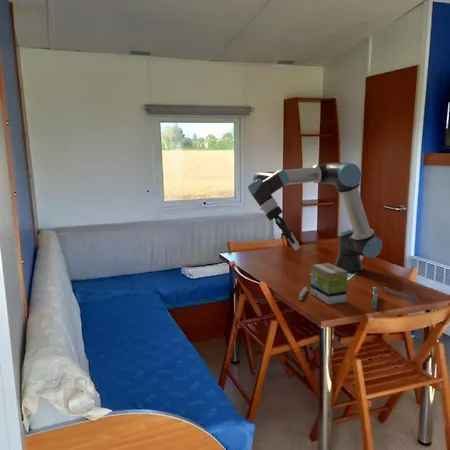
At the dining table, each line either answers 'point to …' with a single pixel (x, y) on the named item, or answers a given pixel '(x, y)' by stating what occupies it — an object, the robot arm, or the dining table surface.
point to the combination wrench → (401, 295)
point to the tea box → (328, 283)
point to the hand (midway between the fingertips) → (297, 247)
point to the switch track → (374, 305)
